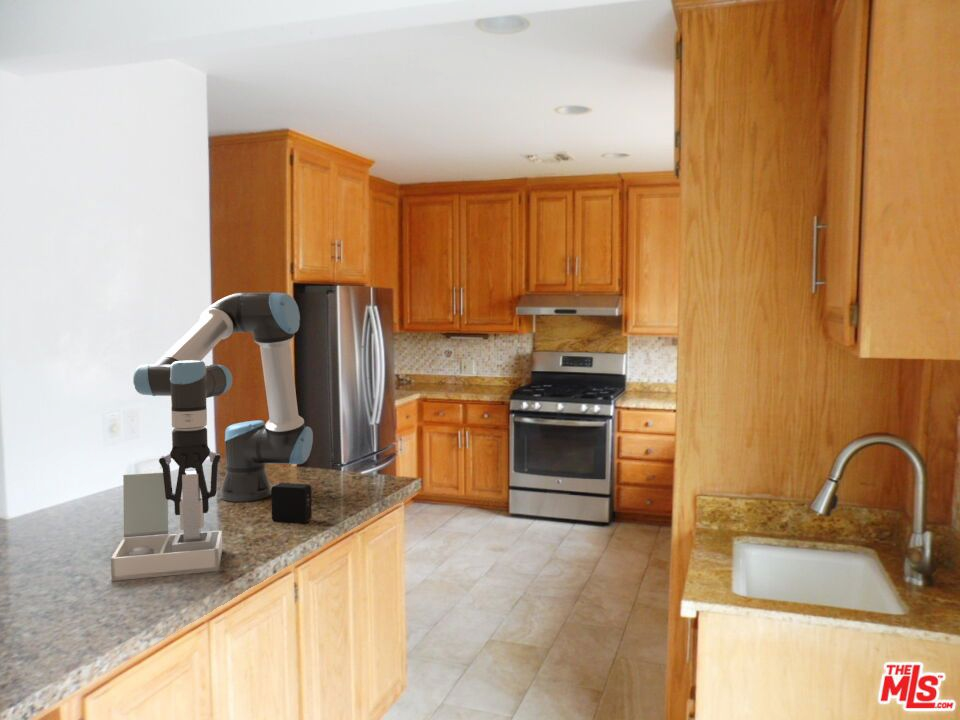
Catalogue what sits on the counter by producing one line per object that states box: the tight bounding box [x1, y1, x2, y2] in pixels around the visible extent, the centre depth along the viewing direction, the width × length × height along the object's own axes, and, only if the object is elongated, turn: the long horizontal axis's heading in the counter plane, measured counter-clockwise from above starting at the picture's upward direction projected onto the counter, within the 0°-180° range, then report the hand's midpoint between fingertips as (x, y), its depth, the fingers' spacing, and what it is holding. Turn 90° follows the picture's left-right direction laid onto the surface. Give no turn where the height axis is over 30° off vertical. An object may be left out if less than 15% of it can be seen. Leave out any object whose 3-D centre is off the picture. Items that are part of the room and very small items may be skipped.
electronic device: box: [270, 482, 312, 525], centre depth 198 cm, size 4×10×10 cm, turn 78°
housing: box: [110, 530, 224, 582], centre depth 165 cm, size 14×22×6 cm, turn 106°
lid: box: [122, 471, 169, 538], centre depth 170 cm, size 15×10×1 cm
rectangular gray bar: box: [182, 470, 202, 542], centre depth 165 cm, size 3×3×16 cm
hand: (192, 527), depth 166 cm, fingers closed on rectangular gray bar, 3 cm apart
